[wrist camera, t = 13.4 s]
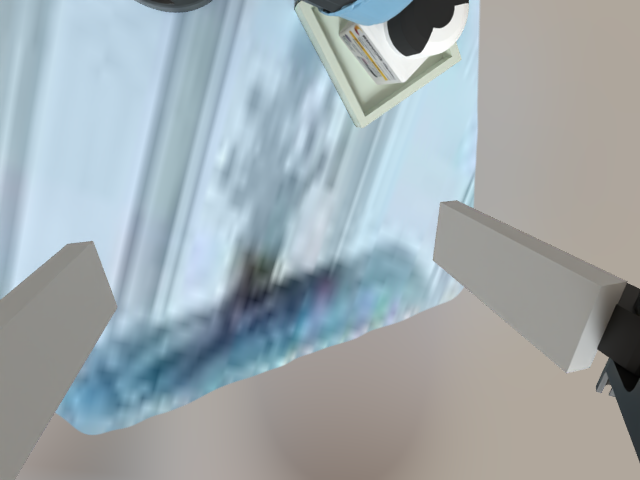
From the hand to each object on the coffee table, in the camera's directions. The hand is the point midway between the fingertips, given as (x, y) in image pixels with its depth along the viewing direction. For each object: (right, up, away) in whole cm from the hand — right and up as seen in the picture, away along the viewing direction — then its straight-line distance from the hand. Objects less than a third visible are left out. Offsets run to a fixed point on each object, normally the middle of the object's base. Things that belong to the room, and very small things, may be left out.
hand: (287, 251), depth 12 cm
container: (+9, +25, +26) cm, 37 cm away
